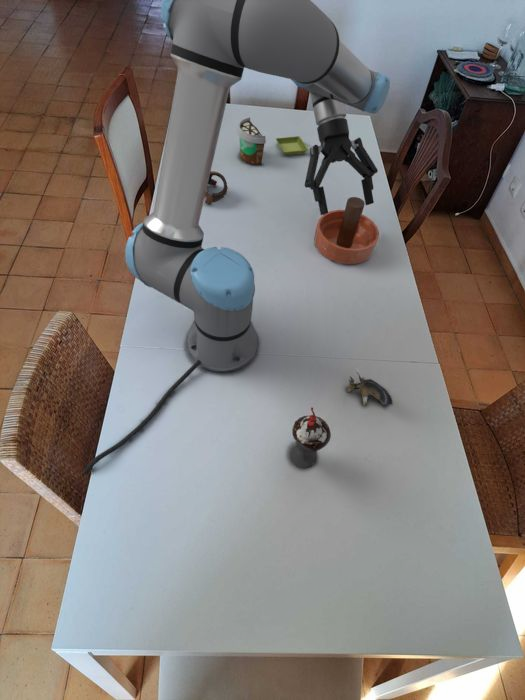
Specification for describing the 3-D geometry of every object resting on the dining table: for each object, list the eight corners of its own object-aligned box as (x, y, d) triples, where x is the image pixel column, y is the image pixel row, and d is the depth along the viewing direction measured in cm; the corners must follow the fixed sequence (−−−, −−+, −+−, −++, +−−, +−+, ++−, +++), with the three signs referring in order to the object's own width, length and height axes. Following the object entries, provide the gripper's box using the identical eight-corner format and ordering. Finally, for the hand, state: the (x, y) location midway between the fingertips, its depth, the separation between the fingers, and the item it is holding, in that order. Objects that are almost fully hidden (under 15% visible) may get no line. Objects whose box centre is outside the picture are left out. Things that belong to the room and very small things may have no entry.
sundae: (298, 432, 89) (311, 393, 77) (326, 454, 87) (344, 417, 75) (278, 456, 86) (288, 419, 74) (306, 479, 84) (321, 445, 72)
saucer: (274, 143, 152) (275, 137, 150) (298, 141, 154) (299, 135, 152) (282, 158, 147) (283, 152, 146) (307, 155, 149) (308, 149, 148)
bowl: (368, 272, 118) (374, 256, 114) (307, 257, 120) (311, 240, 116) (376, 234, 128) (382, 218, 124) (320, 220, 130) (324, 204, 125)
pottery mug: (225, 185, 136) (231, 172, 129) (220, 214, 135) (227, 202, 127) (185, 174, 133) (190, 159, 125) (180, 204, 131) (184, 190, 124)
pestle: (350, 250, 122) (363, 209, 111) (334, 246, 122) (345, 205, 112) (353, 240, 124) (365, 199, 114) (337, 236, 125) (348, 195, 114)
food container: (230, 150, 148) (231, 119, 140) (247, 147, 149) (249, 116, 141) (245, 170, 141) (247, 139, 133) (263, 167, 143) (266, 136, 135)
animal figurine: (345, 409, 92) (391, 416, 90) (348, 376, 90) (395, 382, 88) (347, 394, 99) (390, 400, 97) (351, 363, 97) (394, 369, 95)
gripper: (365, 121, 120) (379, 202, 124) (280, 134, 113) (298, 220, 117) (382, 110, 113) (396, 197, 117) (292, 123, 106) (311, 215, 110)
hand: (347, 209), depth 117 cm, fingers open, 13 cm apart
